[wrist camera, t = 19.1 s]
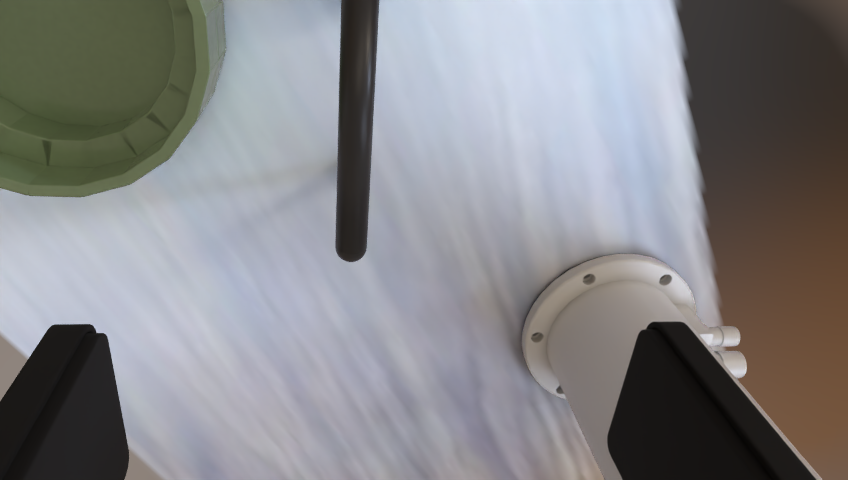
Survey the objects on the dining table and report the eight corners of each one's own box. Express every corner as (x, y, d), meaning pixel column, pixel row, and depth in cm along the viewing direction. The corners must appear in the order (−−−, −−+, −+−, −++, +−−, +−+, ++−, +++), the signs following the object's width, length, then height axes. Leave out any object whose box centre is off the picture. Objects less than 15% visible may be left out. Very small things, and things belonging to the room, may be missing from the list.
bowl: (216, -149, 29) (193, -159, 24) (234, 160, 36) (219, 200, 31) (-156, -188, 26) (-264, -208, 22) (-58, 151, 34) (-123, 192, 29)
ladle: (388, 177, 38) (406, 268, 28) (303, 174, 37) (293, 267, 28) (407, -111, 31) (439, -116, 21) (303, -122, 30) (289, -133, 20)
